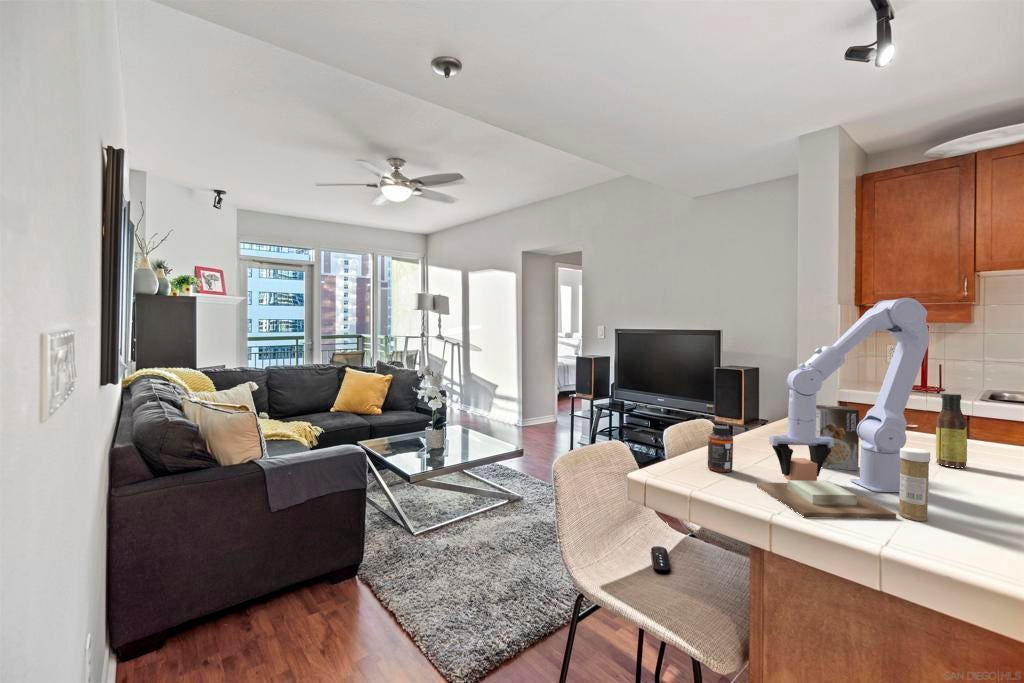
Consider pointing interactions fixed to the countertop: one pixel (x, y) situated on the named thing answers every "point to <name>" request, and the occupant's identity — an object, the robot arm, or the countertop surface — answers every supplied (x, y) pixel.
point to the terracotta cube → (802, 470)
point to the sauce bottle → (951, 432)
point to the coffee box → (839, 435)
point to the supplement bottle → (720, 449)
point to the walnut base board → (826, 509)
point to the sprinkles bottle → (914, 483)
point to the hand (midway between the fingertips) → (800, 474)
